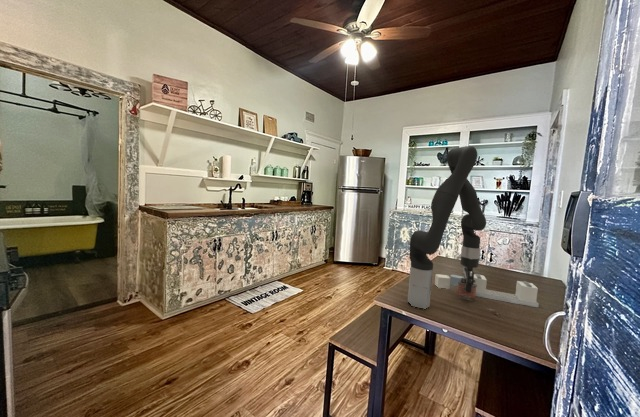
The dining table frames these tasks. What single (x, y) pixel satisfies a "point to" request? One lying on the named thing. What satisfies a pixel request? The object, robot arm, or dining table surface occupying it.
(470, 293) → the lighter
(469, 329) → the dining table surface
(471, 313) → the dining table surface
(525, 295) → the mounted modules
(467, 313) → the dining table surface
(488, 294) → the rail
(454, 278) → the block
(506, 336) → the dining table surface
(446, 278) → the block
